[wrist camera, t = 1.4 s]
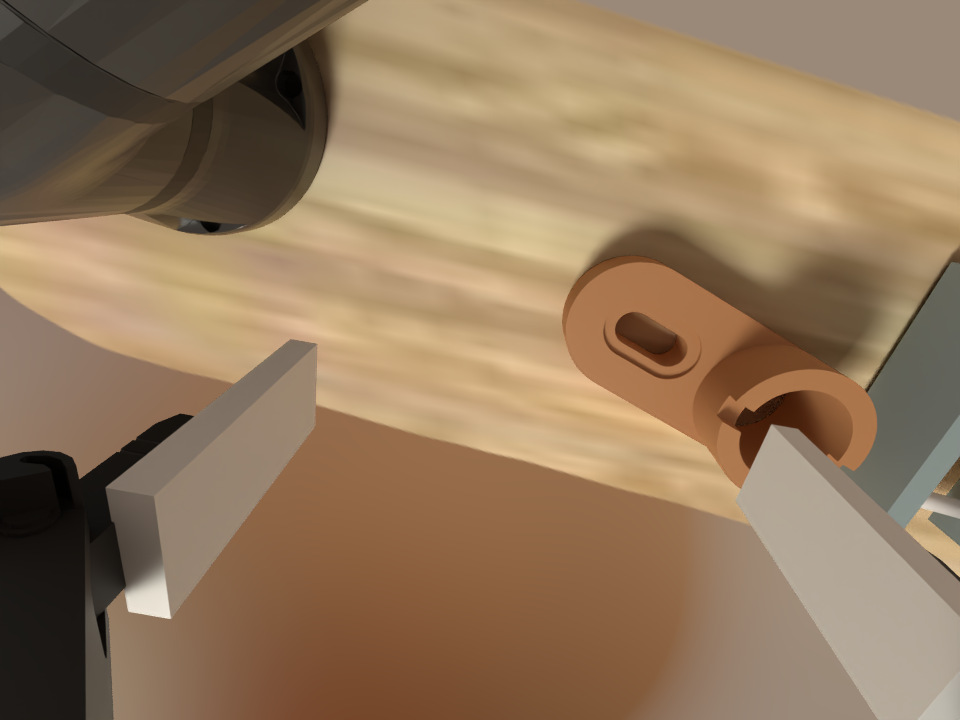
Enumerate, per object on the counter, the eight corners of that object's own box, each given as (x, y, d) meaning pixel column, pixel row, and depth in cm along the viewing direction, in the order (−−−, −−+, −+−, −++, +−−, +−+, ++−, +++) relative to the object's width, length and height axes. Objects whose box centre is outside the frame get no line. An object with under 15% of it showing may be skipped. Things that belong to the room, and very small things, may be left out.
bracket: (833, 368, 32) (912, 417, 25) (748, 458, 35) (799, 522, 28) (609, 230, 30) (633, 245, 23) (538, 337, 33) (543, 377, 26)
